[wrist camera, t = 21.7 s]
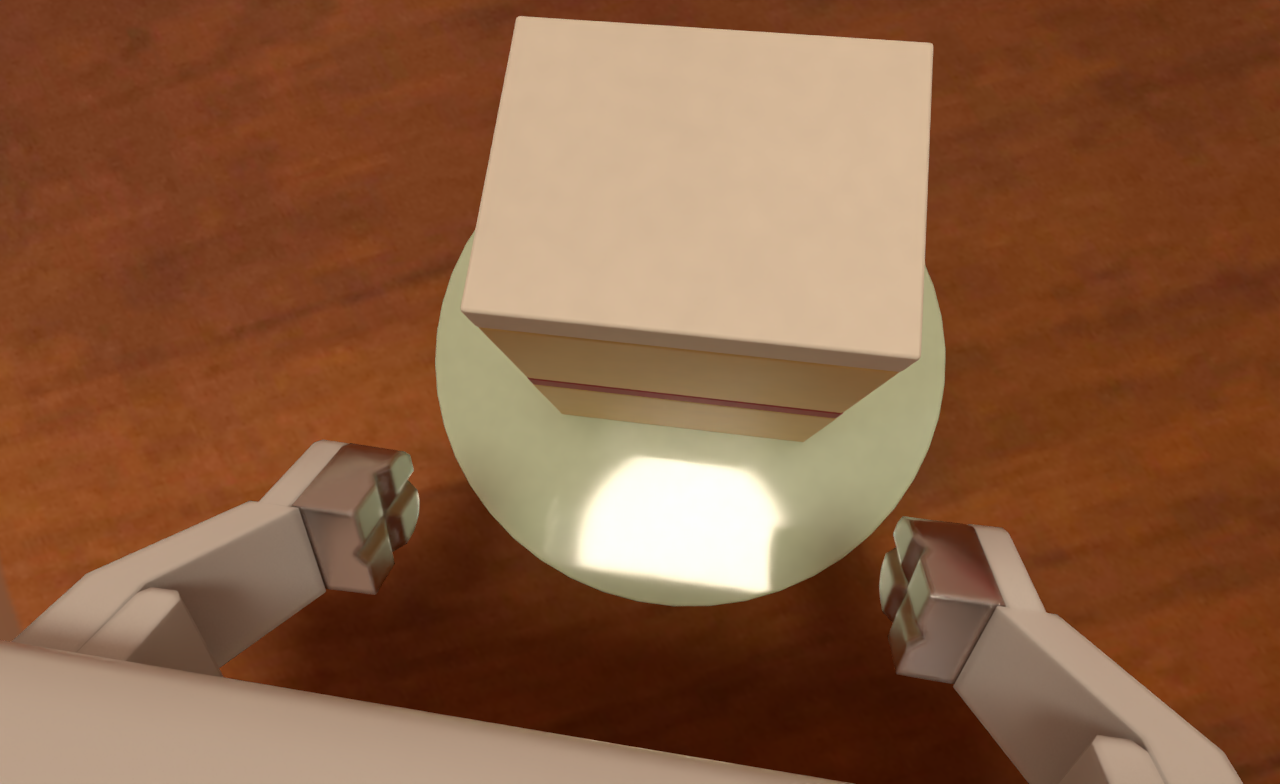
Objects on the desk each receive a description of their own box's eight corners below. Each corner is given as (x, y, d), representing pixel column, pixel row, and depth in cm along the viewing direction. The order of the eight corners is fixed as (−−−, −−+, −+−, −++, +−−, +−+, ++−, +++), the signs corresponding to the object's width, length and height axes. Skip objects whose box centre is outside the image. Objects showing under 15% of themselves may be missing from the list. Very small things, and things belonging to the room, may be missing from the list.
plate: (861, 677, 17) (875, 688, 16) (376, 507, 18) (356, 506, 17) (977, 203, 19) (996, 182, 18) (542, 92, 21) (534, 66, 20)
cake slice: (804, 442, 17) (922, 359, 9) (561, 414, 17) (458, 311, 9) (817, 265, 18) (935, 40, 10) (587, 243, 18) (515, 13, 10)
